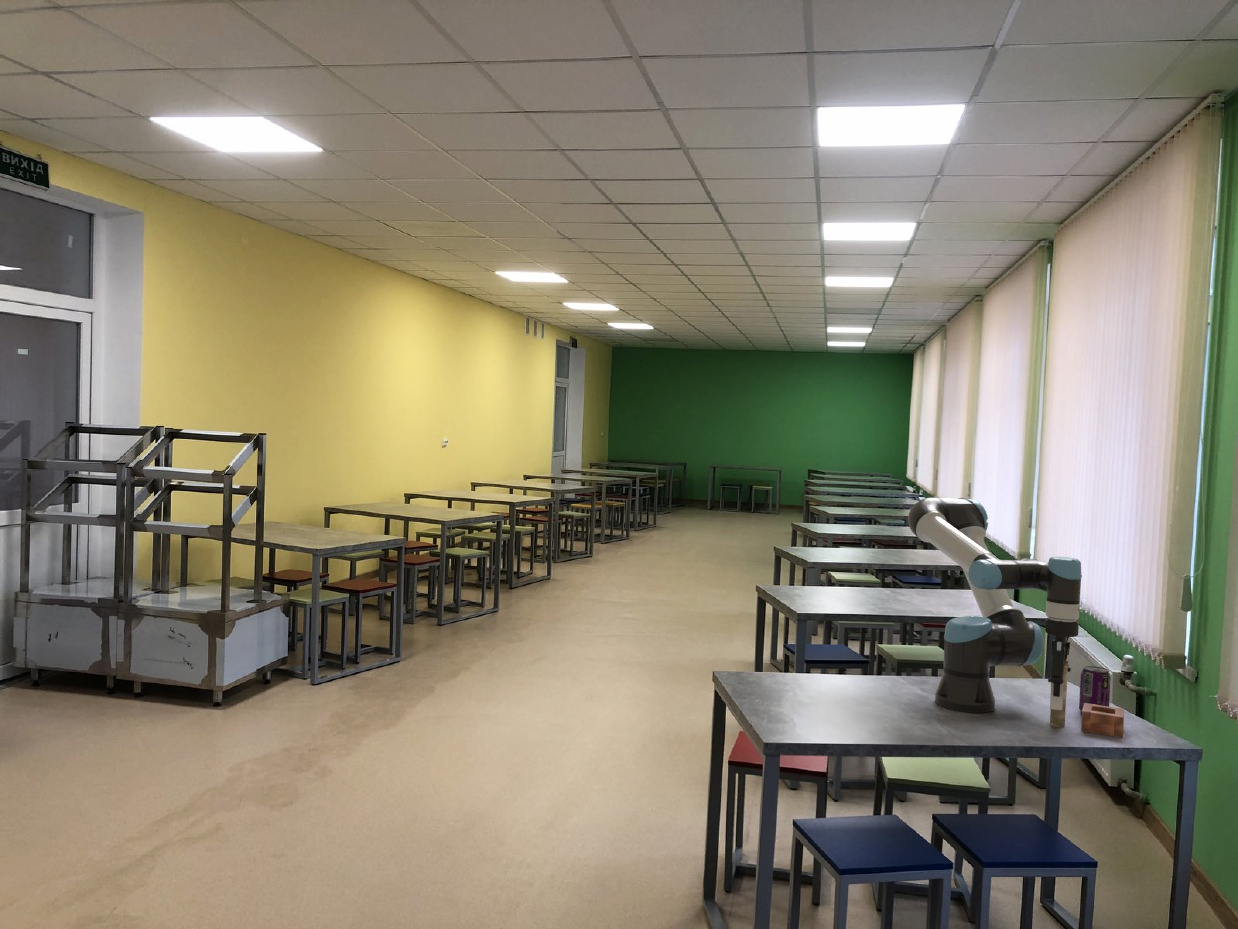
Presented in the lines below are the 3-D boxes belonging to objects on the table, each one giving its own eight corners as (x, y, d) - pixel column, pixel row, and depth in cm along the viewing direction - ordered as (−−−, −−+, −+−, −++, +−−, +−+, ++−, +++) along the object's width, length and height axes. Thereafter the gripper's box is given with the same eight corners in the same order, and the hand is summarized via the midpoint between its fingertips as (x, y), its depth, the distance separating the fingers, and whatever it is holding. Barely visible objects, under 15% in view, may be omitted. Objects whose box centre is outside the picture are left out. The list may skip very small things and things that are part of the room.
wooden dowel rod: (1048, 726, 232) (1052, 654, 232) (1050, 722, 235) (1053, 652, 235) (1064, 728, 230) (1067, 656, 230) (1065, 725, 233) (1068, 654, 233)
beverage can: (1112, 718, 241) (1114, 673, 240) (1083, 716, 242) (1085, 670, 242) (1104, 711, 248) (1106, 666, 247) (1075, 708, 249) (1077, 664, 249)
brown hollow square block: (1081, 731, 229) (1082, 711, 228) (1083, 722, 236) (1084, 702, 236) (1122, 738, 224) (1123, 717, 224) (1123, 728, 232) (1124, 709, 232)
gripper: (1075, 628, 219) (1071, 717, 220) (1082, 613, 241) (1078, 694, 241) (1041, 624, 223) (1036, 711, 223) (1050, 610, 245) (1046, 689, 245)
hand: (1058, 703), depth 232 cm, fingers open, 13 cm apart
